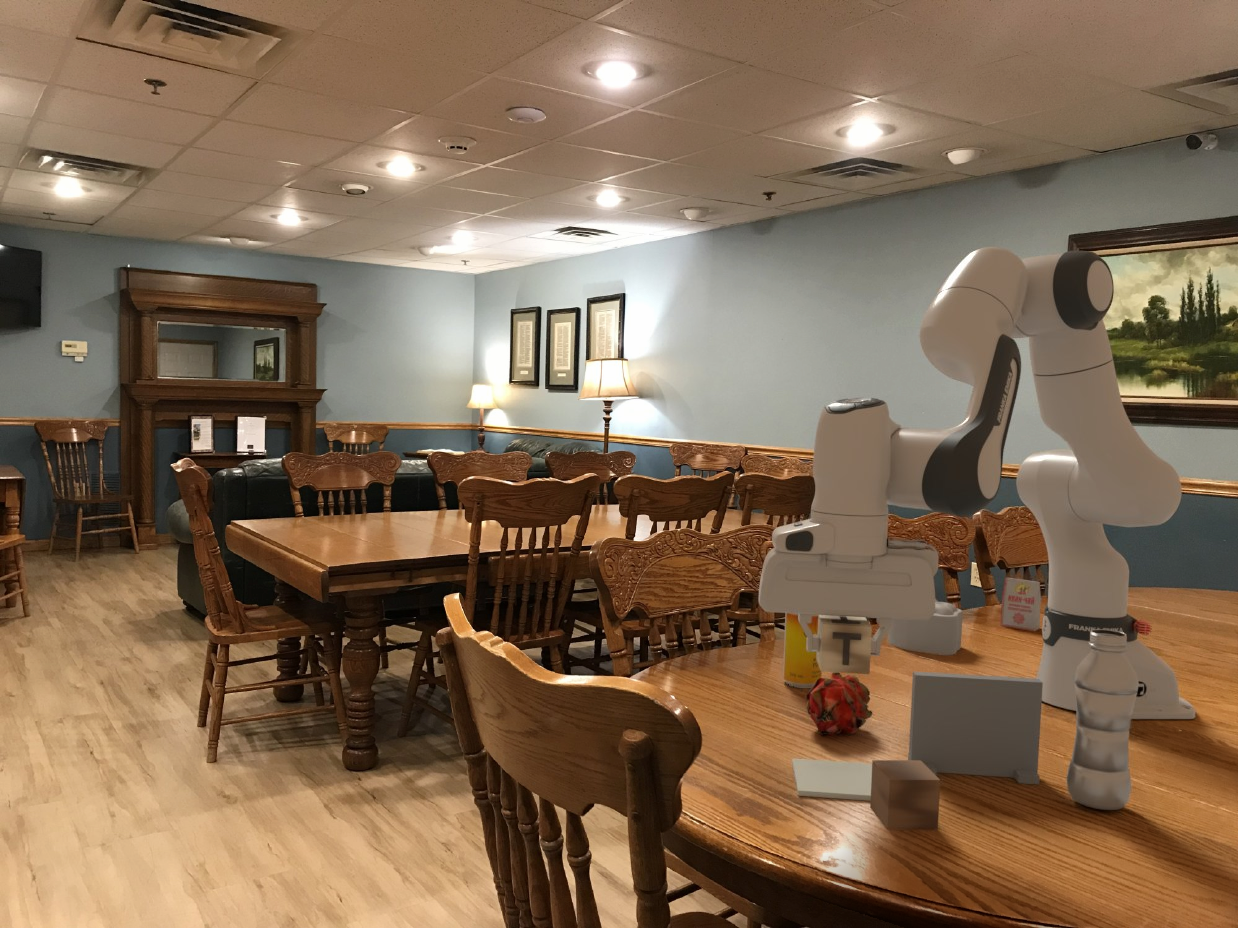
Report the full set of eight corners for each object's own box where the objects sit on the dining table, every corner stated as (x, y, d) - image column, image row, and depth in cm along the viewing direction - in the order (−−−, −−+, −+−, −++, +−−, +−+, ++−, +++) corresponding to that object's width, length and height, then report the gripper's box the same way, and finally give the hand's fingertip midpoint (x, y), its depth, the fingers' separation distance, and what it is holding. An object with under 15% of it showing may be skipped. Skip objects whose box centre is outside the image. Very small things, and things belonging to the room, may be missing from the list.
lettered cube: (862, 661, 115) (864, 614, 114) (869, 674, 109) (872, 625, 109) (816, 658, 115) (818, 612, 115) (821, 671, 110) (823, 622, 109)
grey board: (1028, 768, 119) (1033, 674, 118) (1041, 784, 114) (1047, 686, 113) (905, 760, 121) (910, 667, 120) (913, 775, 116) (918, 678, 115)
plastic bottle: (1053, 793, 111) (1063, 625, 110) (1108, 793, 112) (1119, 626, 111) (1085, 817, 105) (1096, 639, 104) (1143, 817, 106) (1155, 640, 104)
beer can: (821, 690, 149) (825, 596, 148) (782, 687, 151) (785, 593, 150) (820, 679, 155) (824, 589, 154) (783, 676, 156) (786, 586, 155)
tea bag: (1005, 622, 202) (1008, 576, 201) (1039, 628, 198) (1042, 580, 197) (1000, 625, 199) (1003, 578, 198) (1034, 631, 195) (1037, 583, 194)
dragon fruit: (856, 729, 136) (827, 767, 126) (810, 688, 139) (779, 722, 129) (891, 691, 132) (865, 727, 122) (843, 649, 135) (813, 681, 125)
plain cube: (918, 808, 106) (920, 760, 106) (937, 830, 101) (940, 779, 101) (870, 808, 106) (872, 760, 106) (887, 830, 101) (889, 779, 100)
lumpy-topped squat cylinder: (953, 657, 172) (955, 610, 172) (881, 646, 179) (883, 601, 178) (963, 645, 181) (965, 600, 181) (894, 635, 188) (896, 592, 187)
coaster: (873, 768, 118) (874, 763, 117) (887, 801, 108) (887, 796, 108) (792, 762, 119) (792, 758, 119) (798, 795, 109) (798, 790, 109)
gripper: (933, 536, 113) (927, 650, 114) (760, 528, 115) (755, 640, 116) (945, 544, 107) (939, 665, 108) (762, 535, 109) (757, 654, 110)
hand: (842, 652), depth 112 cm, fingers closed on lettered cube, 5 cm apart
